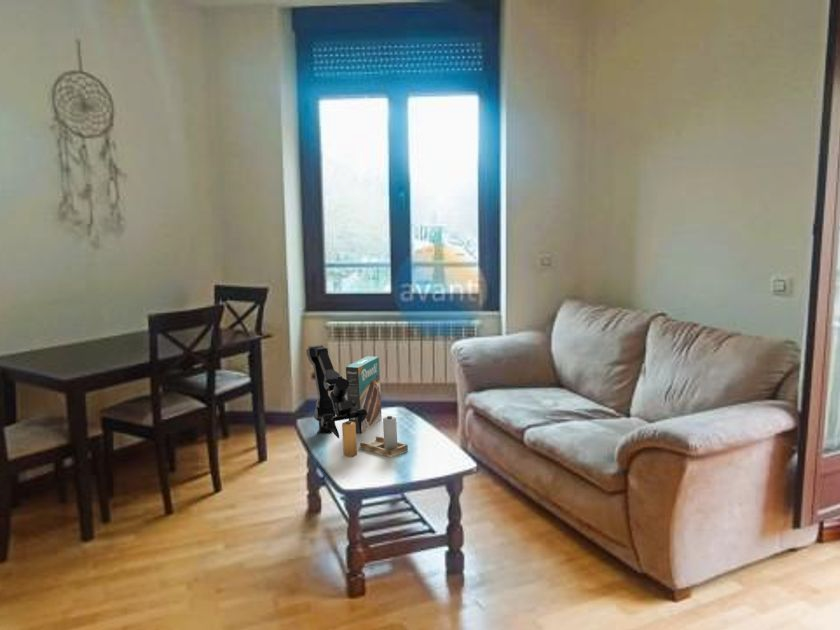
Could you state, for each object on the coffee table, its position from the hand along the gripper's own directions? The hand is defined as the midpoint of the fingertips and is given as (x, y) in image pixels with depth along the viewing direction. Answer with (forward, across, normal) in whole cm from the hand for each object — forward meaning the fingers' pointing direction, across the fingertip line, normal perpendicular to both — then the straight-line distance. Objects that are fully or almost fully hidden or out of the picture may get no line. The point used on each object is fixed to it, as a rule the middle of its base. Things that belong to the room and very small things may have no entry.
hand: (349, 435), depth 274 cm
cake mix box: (-17, +19, +29) cm, 38 cm away
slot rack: (+6, +14, +5) cm, 16 cm away
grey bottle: (+8, +16, +2) cm, 18 cm away
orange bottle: (+5, 0, +6) cm, 8 cm away
